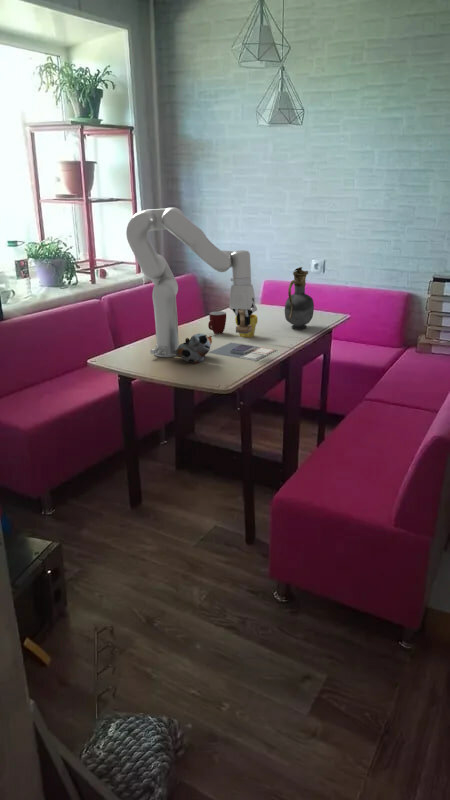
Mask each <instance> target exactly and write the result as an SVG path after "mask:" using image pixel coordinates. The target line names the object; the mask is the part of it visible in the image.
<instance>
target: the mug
mask: <svg viewBox="0 0 450 800" xmlns="http://www.w3.org/2000/svg"><path fill="white" fill-rule="evenodd" d="M226 324H227V312H226V311H220V310H219V311H217V310H216V311H211V312H209V321H208V329H209V331H212V333H214V335H215V334H221V335H223V333H224V331H225V328H226Z"/></svg>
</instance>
